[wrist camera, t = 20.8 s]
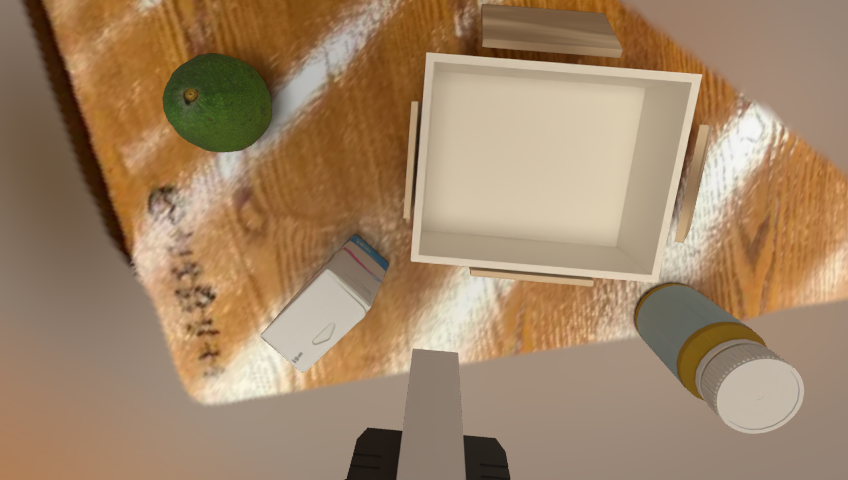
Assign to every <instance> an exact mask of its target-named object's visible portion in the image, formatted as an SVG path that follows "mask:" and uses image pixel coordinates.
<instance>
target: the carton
mask: <svg viewBox="0 0 848 480" xmlns="http://www.w3.org/2000/svg"><path fill="white" fill-rule="evenodd" d="M701 78H702V74H690V73H677V72H665V71H652V70H640V69H627V68H615V67H602V66H590V65H578V64H565V63H553V62H540V61H528V60H515V59H503V58H490V57H478V56H465V55H453V54H441V53H428V52H426V65H425V79H424V92H423V105H422V103H420V102H415V101H412V102H411V116H410V131H409V145H408V159H407V173H406V188H405V202H404V216H403V218H410V216H411V212H412V209H413V206H414V201H415V210H414V224H413V237H412V250H411V261H413V262H424V263H436V264H447V265H459V266H469V268H470V274H471V276H479V277H490V278H502V279H513V280H525V281H536V282H548V283H559V284H570V285H582V286H593V284H594V280H593V279H592V278H591V277H596V278H608V279H619V280H631V281H642V282H653V283H658V279H659V274H660V270H661V265H662V260H663V256H664V251H665V246H666V241H667V237H668V232H669V227H670V223H671V218H672V213H673V209H674V204H675V199H676V195H677V190H678V185H679V181H680V176H681V171H682V167H683V162H684V157H685V153H686V148H687V143H688V138H689V134H690V129H691V124H692V120H693V115H694V110H695V106H696V101H697V96H698V92H699V87H700V82H701ZM421 108H422V118H421ZM420 121H421V131H420ZM419 134H420V144H419ZM418 148H419V158H418ZM417 161H418V171H417ZM416 174H417V184H416ZM415 187H416V197H415Z"/></svg>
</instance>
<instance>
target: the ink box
mask: <svg viewBox="0 0 848 480" xmlns="http://www.w3.org/2000/svg"><path fill="white" fill-rule="evenodd" d="M388 266H389V263H388V262H387V261H386V260H385V259H383V258H382V257H381V256H380V255H379V254H378V253H377V252H376V251H375V250H373V249H372V248H371V247H370V246H369V245H368V244H367V243H366V242H364V241H363V240H362V239H361V238H360V237H359V236H357V235H353V236H352V237H351V238H350V239H349V240H348V241H347V242H346V243H345V244H344V245H343V246H342V247H341V248H340V249H339V250H338V251H337V252H336V253H335V254H334V255H333V256H332V257H331V258H330V259H329V260H328V261H327V262H326V263H325V265H324V266H323V267H322V268H321V269H320V270H319V271H318V272H317V273H316V274H315V275H314V276H313V277H312V278H311V279H310V280H309V281H308V282H307V283H306V284H305V285H304V286H303V287H302V288H301V289H300V290H299V292H298V293H297V294H296V295H295V296H294V297H293V298H292V299H291V301H290V302H289V303H288V304H287V305H286V306H285V307H284V309H283V310H282V311H281V312H280V313H279V314H278V316H277V317H276V318H275V319H274V320H273V321H272V323H271V324H270V325H269V326H268V327H267V328H266V329H265V331H264V332H263V333H262V334H261V335H260V337H261V338H262V339H263V340H264V341H266V342H267V343H268V344H269V345H270V346H272V347H273V348H274V349H275V350H276V351H278V353H280V354H281V355H282V356H283V357H284V358H286V359H287V360H288V361H289V362H290V363H291V364H292V365H293V366H294V367H295V368H296V369H298V370H299V371H301V372H306V371H307V370H309V369H310V367H311V366H312V365H313V364H314V363H315V362H316V361H317V360H318V359H319V358H321V357H322V356H323V355H324V354H325V353H326V352H327V351H328V350H329V349H330V348H331V347H332V346H334V345H335V344H336V343H337V342H338V341H339V340H340V339H341V338H342V337H343V336H344V335H345V334H346V333H347V332H348V331H349V330H350V329H351V328H353V327H354V326H355V325H356V324H357V323H358V322H359V321H360V320H362V319H363V318H364V317H365V313H366V312H367V311H368V310H369V309H370V308H371V306H372V303H373V301H374V299H375V297H376V294H377V292H378V290H379V287H380V284H381V282H382V280H383V277H384V275H385V272H386V270H387V268H388Z"/></svg>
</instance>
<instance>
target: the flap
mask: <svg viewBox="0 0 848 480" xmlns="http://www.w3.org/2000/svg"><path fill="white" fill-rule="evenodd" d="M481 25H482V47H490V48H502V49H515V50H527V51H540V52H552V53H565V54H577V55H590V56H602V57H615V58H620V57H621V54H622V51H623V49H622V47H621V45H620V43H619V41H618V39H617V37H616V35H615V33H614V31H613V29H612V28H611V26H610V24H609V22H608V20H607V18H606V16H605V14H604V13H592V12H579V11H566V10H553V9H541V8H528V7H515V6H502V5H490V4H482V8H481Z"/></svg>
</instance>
